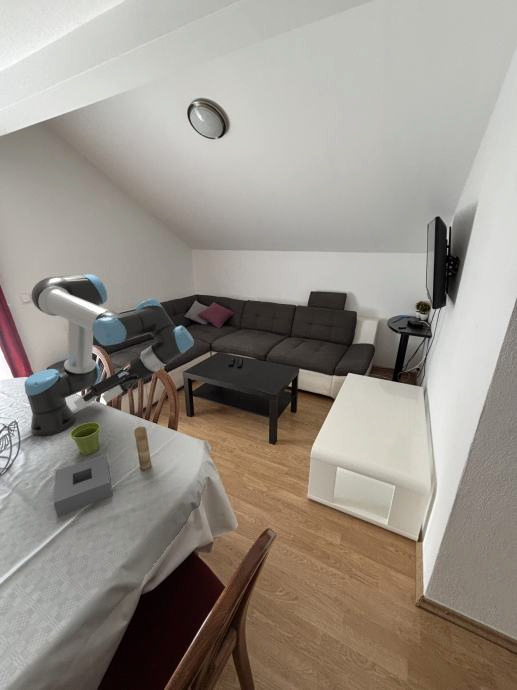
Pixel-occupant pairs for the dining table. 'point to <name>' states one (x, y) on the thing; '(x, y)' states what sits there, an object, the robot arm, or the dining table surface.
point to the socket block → (81, 484)
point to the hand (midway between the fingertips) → (91, 402)
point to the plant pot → (86, 437)
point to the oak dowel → (142, 448)
